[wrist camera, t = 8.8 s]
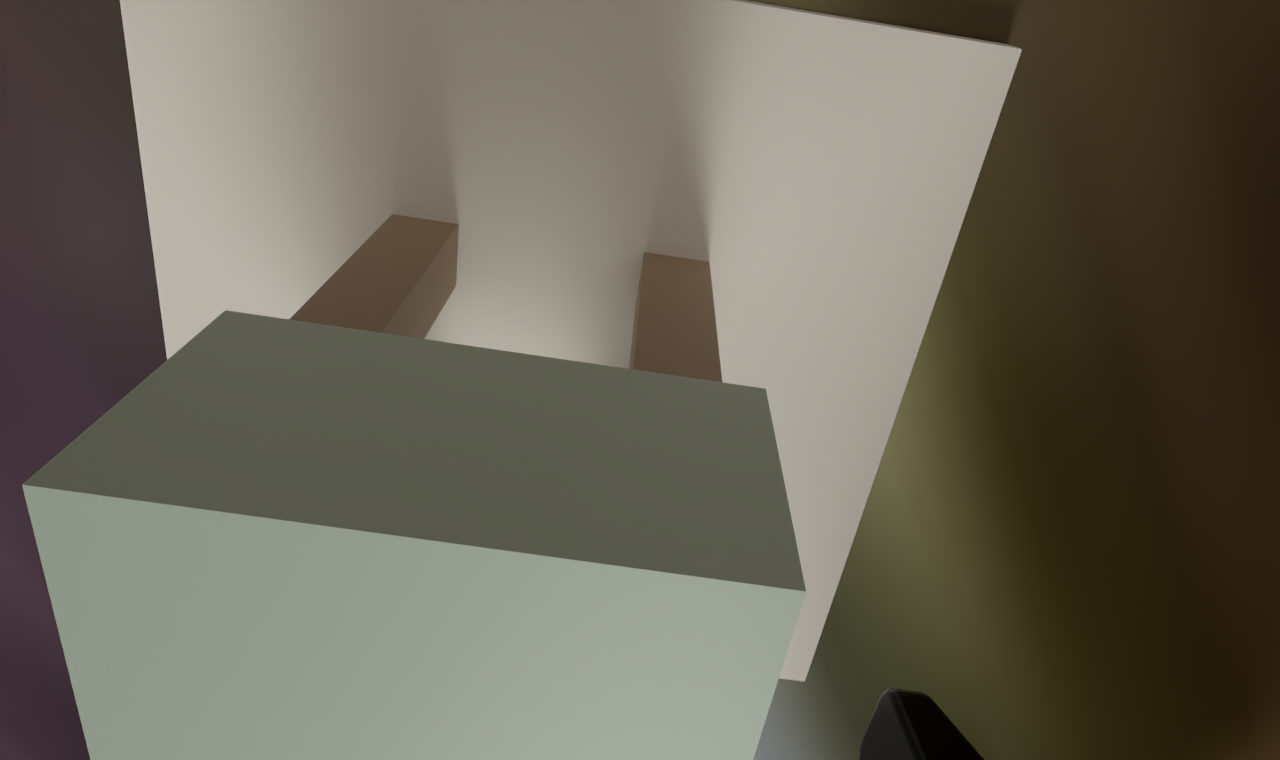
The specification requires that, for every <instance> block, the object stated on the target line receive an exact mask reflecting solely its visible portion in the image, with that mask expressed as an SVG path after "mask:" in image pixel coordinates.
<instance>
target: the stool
mask: <svg viewBox="0 0 1280 760" xmlns="http://www.w3.org/2000/svg"><path fill="white" fill-rule="evenodd" d="M458 233H459V224H455V223H448V222H441V221H435V220H428V219H422V218H415V217H408V216H402V215H395V214H392V215H391V216H390V217H389V218H388V219H387V220H386V221H385V222H384V223H383V224H382V225H381V226H380V227H379V228H378V229H377V230H376V231H375V232H374V233H373V234H372V235H371V236H370V237H369V238H368V239H367V240H366V241H365V242H364V243H363V244H362V245H361V246H360V247H359V248H358V249H357V250H356V251H355V253H354V254H353V255H352V256H351V257H350V258H349V259H348V260H347V261H346V262H345V263H344V264H343V265H342V266H341V267H340V268H339V269H338V270H337V271H336V272H335V273H334V274H333V275H332V276H331V277H330V278H329V279H328V280H327V281H326V282H325V283H324V284H323V285H322V286H321V287H320V288H319V289H318V290H317V291H316V292H315V293H314V295H313V296H312V297H311V298H310V299H309V300H308V301H307V302H306V303H305V304H304V305H303V306H302V307H301V308H300V309H299V310H298V311H297V312H296V313H295V314H294V315H293V316H292V317H291V318H290V319H283V318H276V317H269V316H262V315H255V314H248V313H241V312H235V311H228V310H225V311H224V312H223V313H222V314H220V315H219V316H218V317H217V318H216V319H215V320H213V321H212V322H211V323H210V324H209V325H208V326H206V327H205V328H204V329H203V330H202V331H201V332H199V333H198V334H197V335H196V336H195V337H194V338H192V339H191V340H190V341H189V342H188V343H187V344H185V345H184V346H183V347H182V348H181V349H180V350H178V351H177V352H176V353H175V354H174V355H173V356H171V357H170V358H169V359H168V360H167V361H166V362H164V363H163V364H162V365H161V366H160V367H159V368H158V369H156V370H155V371H154V372H153V373H152V374H151V375H149V376H148V377H147V378H146V379H145V380H144V381H142V382H141V383H140V384H139V385H138V386H137V387H135V388H134V389H133V390H132V391H131V392H130V393H128V394H127V395H126V396H125V397H124V398H123V399H121V400H120V401H119V402H118V403H117V404H116V405H114V406H113V407H112V408H111V409H110V410H109V411H107V412H106V413H105V414H104V415H103V416H102V417H100V418H99V419H98V420H97V421H96V422H95V423H93V424H92V425H91V426H90V427H89V428H88V429H86V430H85V431H84V432H83V433H82V434H81V435H79V436H78V437H77V438H76V439H75V440H74V441H72V442H71V443H70V444H69V445H68V446H67V447H65V448H64V449H63V450H62V451H61V452H60V453H58V454H57V455H56V456H55V457H54V458H53V459H51V460H50V461H49V462H48V463H47V464H46V465H44V466H43V467H42V468H41V469H40V470H39V471H37V472H36V473H35V474H34V475H33V476H32V477H31V478H29V479H28V480H27V481H26V482H25V483H24V484H22V486H23V490H24V494H25V498H26V502H27V506H28V510H29V514H30V518H31V522H32V526H33V530H34V534H35V538H36V542H37V546H38V550H39V555H40V559H41V563H42V567H43V571H44V575H45V579H46V583H47V587H48V591H49V595H50V599H51V603H52V607H53V611H54V615H55V619H56V623H57V627H58V631H59V635H60V639H61V643H62V647H63V651H64V655H65V659H66V663H67V667H68V671H69V675H70V679H71V683H72V687H73V691H74V695H75V699H76V703H77V707H78V711H79V715H80V719H81V723H82V727H83V731H84V735H85V739H86V743H87V747H88V751H89V755H90V759H91V760H753V758H754V755H755V752H756V749H757V746H758V743H759V739H760V736H761V733H762V730H763V727H764V724H765V720H766V717H767V714H768V711H769V708H770V705H771V701H772V698H773V695H774V692H775V689H776V686H777V682H778V679H779V676H780V673H781V670H782V667H783V663H784V660H785V657H786V654H787V651H788V648H789V644H790V641H791V638H792V635H793V632H794V629H795V625H796V622H797V619H798V616H799V613H800V610H801V606H802V603H803V600H804V597H805V594H806V588H805V583H804V578H803V573H802V568H801V563H800V558H799V553H798V548H797V543H796V538H795V533H794V528H793V523H792V518H791V513H790V508H789V503H788V498H787V493H786V488H785V483H784V478H783V473H782V468H781V463H780V458H779V453H778V448H777V443H776V438H775V433H774V428H773V423H772V418H771V413H770V408H769V403H768V397H767V392H766V389H764V388H757V387H751V386H744V385H737V384H730V383H723V382H722V375H721V365H720V356H719V347H718V337H717V328H716V319H715V309H714V300H713V290H712V281H711V272H710V262H707V261H700V260H694V259H687V258H680V257H674V256H667V255H660V254H654V253H647V252H644V256H643V262H642V269H641V275H640V281H639V288H638V294H637V301H636V307H635V314H634V324H633V334H632V344H631V354H630V364H629V369H627V368H620V367H613V366H606V365H599V364H592V363H585V362H579V361H572V360H565V359H558V358H551V357H544V356H537V355H530V354H524V353H517V352H510V351H503V350H496V349H489V348H482V347H475V346H468V345H462V344H455V343H448V342H441V341H434V340H427V339H424V338H425V337H426V335H427V333H428V332H429V330H430V328H431V327H432V325H433V323H434V322H435V320H436V318H437V317H438V315H439V313H440V312H441V310H442V308H443V307H444V305H445V303H446V302H447V300H448V298H449V297H450V295H451V293H452V292H453V290H454V289H455V287H456V278H457V256H458Z"/></svg>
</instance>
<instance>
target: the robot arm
mask: <svg viewBox="0 0 1280 760" xmlns="http://www.w3.org/2000/svg"><path fill="white" fill-rule="evenodd" d="M860 760H984V759H983V758H982V757H981V756H980V754H979V753H978V752H977V751H976V750H975V749H974V747H973V746H972V745H971V744H970V743H969V742H968V741H967V739H966V738H965V737H964V736H963V735H962V734H961V732H960V731H959V730H958V729H957V728H956V727H955V725H954V724H953V723H952V722H951V721H950V720H949V718H948V717H947V716H946V715H945V714H944V713H943V711H942V710H941V709H940V708H939V707H938V706H937V704H936V703H935V702H934V701H933V700H932V699H931V698H930V697H929V696H927V695H926V694H924V693H921V692H916V691H909V690H901V689H894V688H890V689H887V690H885V691H884V692H883V693H882V694H881V696H880V698H879V700H878V703H877V705H876V708H875V710H874V712H873V715H872V717H871V720H870V722H869V725H868V727H867V730H866V732H865V734H864V737H863V740H862V743H861V748H860Z"/></svg>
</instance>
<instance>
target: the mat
mask: <svg viewBox="0 0 1280 760" xmlns="http://www.w3.org/2000/svg"><path fill="white" fill-rule="evenodd" d="M120 5H121V13H122V20H123V28H124V36H125V43H126V51H127V58H128V66H129V74H130V81H131V89H132V96H133V104H134V111H135V119H136V127H137V134H138V142H139V149H140V157H141V165H142V172H143V180H144V187H145V195H146V202H147V210H148V218H149V225H150V233H151V240H152V248H153V255H154V263H155V271H156V278H157V286H158V293H159V301H160V309H161V316H162V324H163V331H164V339H165V346H166V354H167V360H168V359H169V358H170V357H171V356H173V355H174V354H175V353H176V352H177V351H178V350H180V349H181V348H182V347H183V346H184V345H185V344H187V343H188V342H189V341H190V340H191V339H192V338H194V337H195V336H196V335H197V334H198V333H199V332H201V331H202V330H203V329H204V328H205V327H206V326H208V325H209V324H210V323H211V322H212V321H213V320H215V319H216V318H217V317H218V316H219V315H220V314H222V313H223V312H224V311H225V310H228V311H235V312H241V313H248V314H255V315H262V316H269V317H276V318H283V319H290V318H291V317H292V316H293V315H294V314H295V313H296V312H297V311H298V310H299V309H300V308H301V307H302V306H303V305H304V304H305V303H306V302H307V301H308V300H309V299H310V298H311V297H312V296H313V295H314V293H315V292H316V291H317V290H318V289H319V288H320V287H321V286H322V285H323V284H324V283H325V282H326V281H327V280H328V279H329V278H330V277H331V276H332V275H333V274H334V273H335V272H336V271H337V270H338V269H339V268H340V267H341V266H342V265H343V264H344V263H345V262H346V261H347V260H348V259H349V258H350V257H351V256H352V255H353V254H354V253H355V251H356V250H357V249H358V248H359V247H360V246H361V245H362V244H363V243H364V242H365V241H366V240H367V239H368V238H369V237H370V236H371V235H372V234H373V233H374V232H375V231H376V230H377V229H378V228H379V227H380V226H381V225H382V224H383V223H384V222H385V221H386V220H387V219H388V218H389V217H390V216H391V215H392V214H395V215H402V216H408V217H415V218H422V219H428V220H435V221H441V222H448V223H455V224H459V233H458V256H457V278H456V287H455V289H454V290H453V292H452V293H451V295H450V297H449V298H448V300H447V302H446V303H445V305H444V307H443V308H442V310H441V312H440V313H439V315H438V317H437V318H436V320H435V322H434V323H433V325H432V327H431V328H430V330H429V332H428V333H427V335H426V337H425V338H424V339H427V340H434V341H441V342H448V343H455V344H462V345H468V346H475V347H482V348H489V349H496V350H503V351H510V352H517V353H524V354H530V355H537V356H544V357H551V358H558V359H565V360H572V361H579V362H585V363H592V364H599V365H606V366H613V367H620V368H627V369H629V364H630V354H631V344H632V334H633V324H634V314H635V307H636V301H637V294H638V288H639V281H640V275H641V269H642V262H643V256H644V252H647V253H654V254H660V255H667V256H674V257H680V258H687V259H694V260H700V261H707V262H710V272H711V281H712V290H713V300H714V309H715V319H716V328H717V337H718V347H719V356H720V365H721V375H722V382H723V383H730V384H737V385H744V386H751V387H757V388H764V389H766V392H767V397H768V403H769V408H770V413H771V418H772V423H773V428H774V433H775V438H776V443H777V448H778V453H779V458H780V463H781V468H782V473H783V478H784V483H785V488H786V493H787V498H788V503H789V508H790V513H791V518H792V523H793V528H794V533H795V538H796V543H797V548H798V553H799V558H800V563H801V568H802V573H803V578H804V583H805V588H806V594H805V597H804V600H803V603H802V606H801V610H800V613H799V616H798V619H797V622H796V625H795V629H794V632H793V635H792V638H791V641H790V644H789V648H788V651H787V654H786V657H785V660H784V663H783V667H782V670H781V673H780V676H779V678H782V679H789V680H796V681H804V682H805V679H806V676H807V673H808V671H809V668H810V665H811V662H812V659H813V656H814V653H815V650H816V647H817V644H818V641H819V639H820V636H821V633H822V630H823V627H824V624H825V621H826V618H827V615H828V612H829V609H830V607H831V604H832V601H833V598H834V595H835V592H836V589H837V586H838V583H839V580H840V577H841V575H842V572H843V569H844V566H845V563H846V560H847V557H848V554H849V551H850V548H851V545H852V543H853V540H854V537H855V534H856V531H857V528H858V525H859V522H860V519H861V516H862V513H863V511H864V508H865V505H866V502H867V499H868V496H869V493H870V490H871V487H872V484H873V481H874V479H875V476H876V473H877V470H878V467H879V464H880V461H881V458H882V455H883V452H884V449H885V447H886V444H887V441H888V438H889V435H890V432H891V429H892V426H893V423H894V420H895V417H896V415H897V412H898V409H899V406H900V403H901V400H902V397H903V394H904V391H905V388H906V385H907V383H908V380H909V377H910V374H911V371H912V368H913V365H914V362H915V359H916V356H917V353H918V351H919V348H920V345H921V342H922V339H923V336H924V333H925V330H926V327H927V324H928V321H929V319H930V316H931V313H932V310H933V307H934V304H935V301H936V298H937V295H938V292H939V289H940V287H941V284H942V281H943V278H944V275H945V272H946V269H947V266H948V263H949V260H950V257H951V255H952V252H953V249H954V246H955V243H956V240H957V237H958V234H959V231H960V228H961V225H962V223H963V220H964V217H965V214H966V211H967V208H968V205H969V202H970V199H971V196H972V193H973V191H974V188H975V185H976V182H977V179H978V176H979V173H980V170H981V167H982V164H983V161H984V159H985V156H986V153H987V150H988V147H989V144H990V141H991V138H992V135H993V132H994V129H995V127H996V124H997V121H998V118H999V115H1000V112H1001V109H1002V106H1003V103H1004V100H1005V97H1006V95H1007V92H1008V89H1009V86H1010V83H1011V80H1012V77H1013V74H1014V71H1015V68H1016V65H1017V63H1018V60H1019V57H1020V54H1021V51H1022V49H1020V48H1018V47H1015V46H1012V45H1009V44H1003V43H997V42H991V41H985V40H980V39H974V38H968V37H962V36H956V35H950V34H944V33H938V32H932V31H926V30H920V29H914V28H908V27H902V26H896V25H890V24H884V23H878V22H872V21H866V20H860V19H854V18H848V17H843V16H837V15H831V14H825V13H819V12H813V11H807V10H801V9H795V8H789V7H783V6H777V5H771V4H765V3H759V2H753V1H747V0H120Z"/></svg>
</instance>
